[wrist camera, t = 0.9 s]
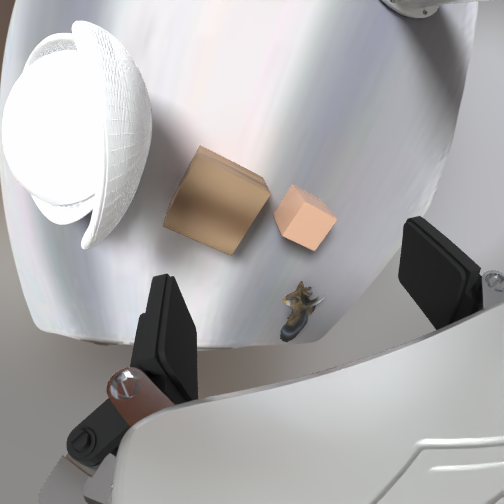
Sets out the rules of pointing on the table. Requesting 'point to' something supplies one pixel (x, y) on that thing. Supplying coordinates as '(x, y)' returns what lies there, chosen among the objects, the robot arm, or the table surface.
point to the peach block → (303, 218)
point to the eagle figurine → (298, 312)
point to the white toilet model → (79, 129)
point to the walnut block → (216, 201)
